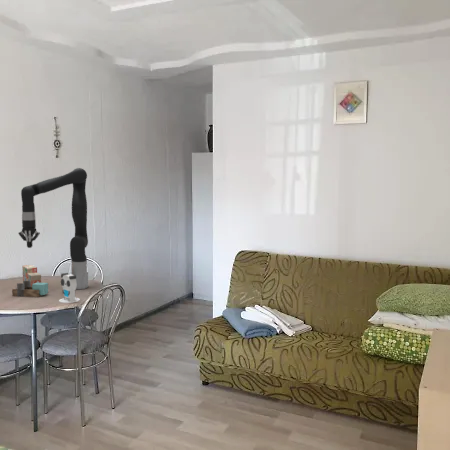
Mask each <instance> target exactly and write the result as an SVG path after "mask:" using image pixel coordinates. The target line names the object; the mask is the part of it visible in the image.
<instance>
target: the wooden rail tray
mask: <svg viewBox="0 0 450 450" xmlns="http://www.w3.org/2000/svg"><path fill="white" fill-rule="evenodd" d="M11 296H12V297H25V298H26V297H28V298H40V297H42V296H43V295H40V294H39V290H32V287H31V282H30V281H23V280H22V282H21V283H19V282H18V283H16V288H12V290H11Z"/></svg>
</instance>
